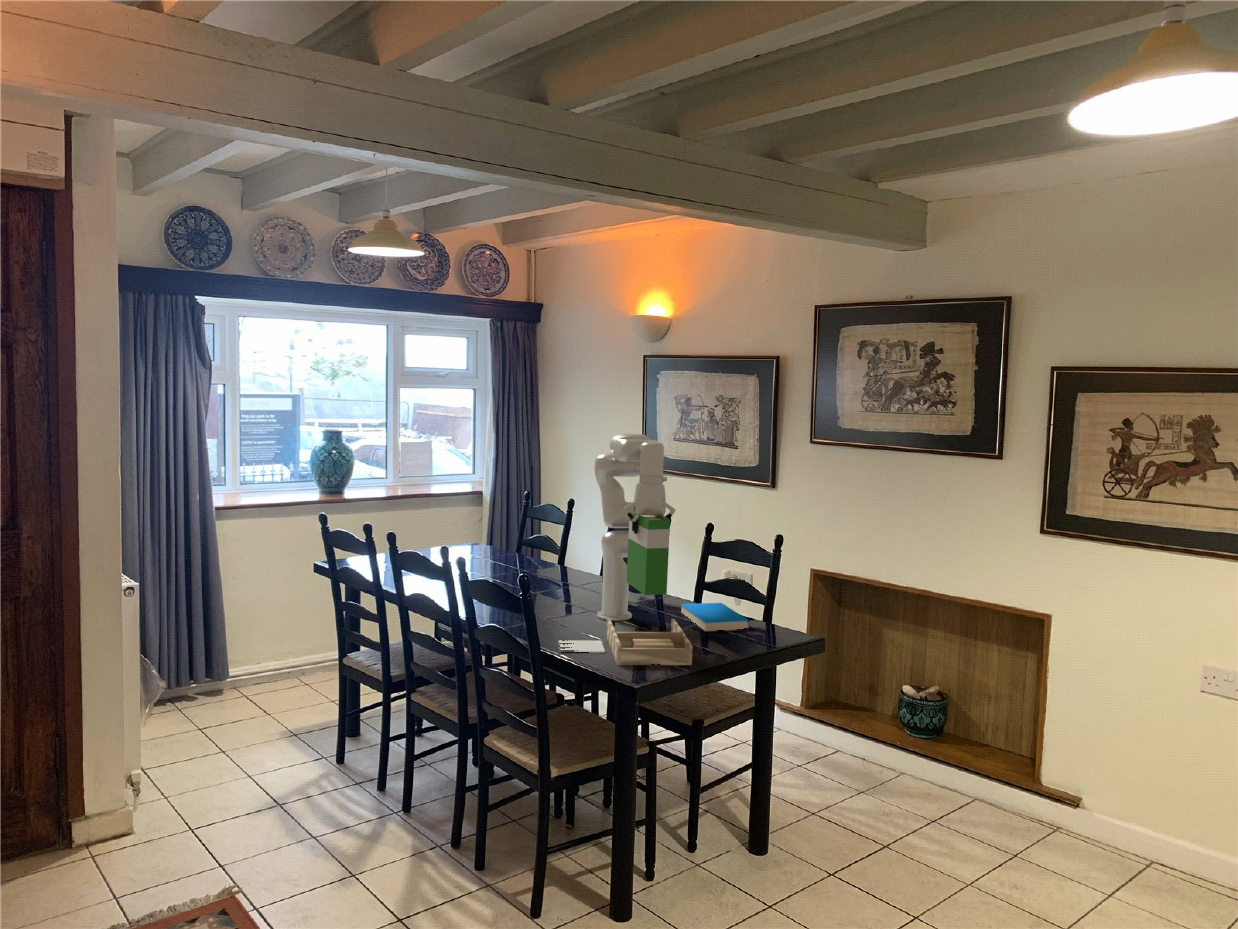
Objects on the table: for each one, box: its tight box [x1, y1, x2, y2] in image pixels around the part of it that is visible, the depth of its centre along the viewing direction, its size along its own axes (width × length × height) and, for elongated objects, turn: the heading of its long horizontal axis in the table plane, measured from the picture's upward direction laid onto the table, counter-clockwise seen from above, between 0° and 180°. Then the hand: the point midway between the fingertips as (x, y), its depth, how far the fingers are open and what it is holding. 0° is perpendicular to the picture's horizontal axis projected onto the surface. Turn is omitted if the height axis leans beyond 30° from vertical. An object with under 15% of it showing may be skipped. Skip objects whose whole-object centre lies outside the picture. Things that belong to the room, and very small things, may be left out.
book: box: [680, 602, 750, 632], centre depth 329 cm, size 17×4×25 cm
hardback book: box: [626, 511, 671, 596], centre depth 294 cm, size 18×7×24 cm, turn 19°
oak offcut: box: [632, 639, 674, 648], centre depth 281 cm, size 6×12×3 cm, turn 97°
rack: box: [606, 618, 694, 666], centre depth 290 cm, size 31×23×7 cm
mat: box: [558, 639, 606, 654], centre depth 290 cm, size 12×14×1 cm
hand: (648, 533), depth 294 cm, fingers closed on hardback book, 8 cm apart
